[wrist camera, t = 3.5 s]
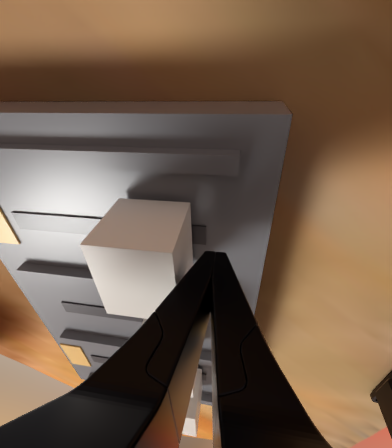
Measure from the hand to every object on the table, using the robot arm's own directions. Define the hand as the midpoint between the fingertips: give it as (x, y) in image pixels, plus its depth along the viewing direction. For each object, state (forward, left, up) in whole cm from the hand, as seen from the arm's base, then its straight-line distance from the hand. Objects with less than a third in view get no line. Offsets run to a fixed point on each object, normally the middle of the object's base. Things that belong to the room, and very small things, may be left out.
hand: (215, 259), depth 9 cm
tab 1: (+3, 0, -1) cm, 3 cm away
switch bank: (+5, +7, -4) cm, 10 cm away
